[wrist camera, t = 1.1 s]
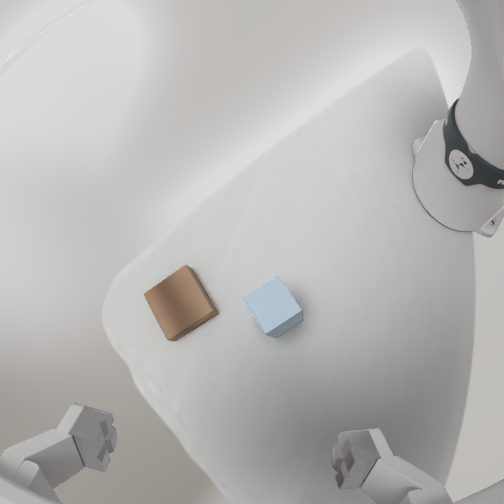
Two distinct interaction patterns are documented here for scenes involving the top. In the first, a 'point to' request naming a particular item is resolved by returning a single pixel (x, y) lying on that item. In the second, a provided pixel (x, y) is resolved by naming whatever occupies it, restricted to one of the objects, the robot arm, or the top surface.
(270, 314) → the pillar
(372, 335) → the top surface
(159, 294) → the base block
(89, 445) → the robot arm
